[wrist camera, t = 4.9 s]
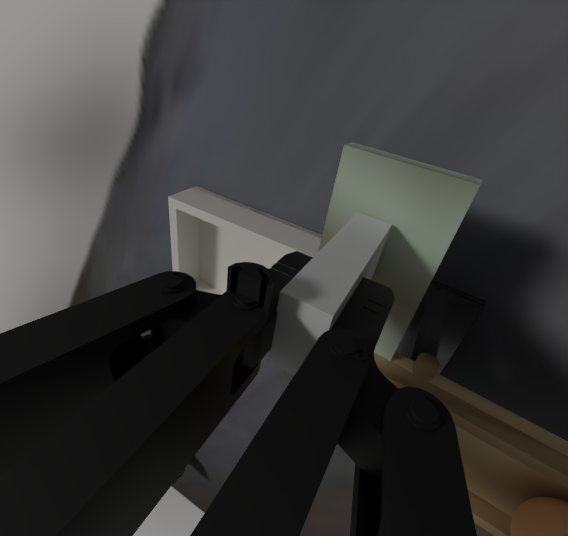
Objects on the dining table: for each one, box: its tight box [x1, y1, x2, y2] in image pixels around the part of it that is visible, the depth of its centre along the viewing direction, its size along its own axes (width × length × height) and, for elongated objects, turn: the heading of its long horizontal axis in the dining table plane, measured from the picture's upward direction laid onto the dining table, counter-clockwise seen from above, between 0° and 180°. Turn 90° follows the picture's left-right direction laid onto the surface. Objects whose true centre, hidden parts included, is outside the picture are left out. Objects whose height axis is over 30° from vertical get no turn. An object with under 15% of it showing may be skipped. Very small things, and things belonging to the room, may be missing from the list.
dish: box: [168, 186, 322, 295], centre depth 25 cm, size 9×12×3 cm
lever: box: [318, 142, 568, 536], centre depth 14 cm, size 16×16×2 cm
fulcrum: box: [396, 281, 485, 374], centre depth 20 cm, size 9×4×5 cm, turn 170°
